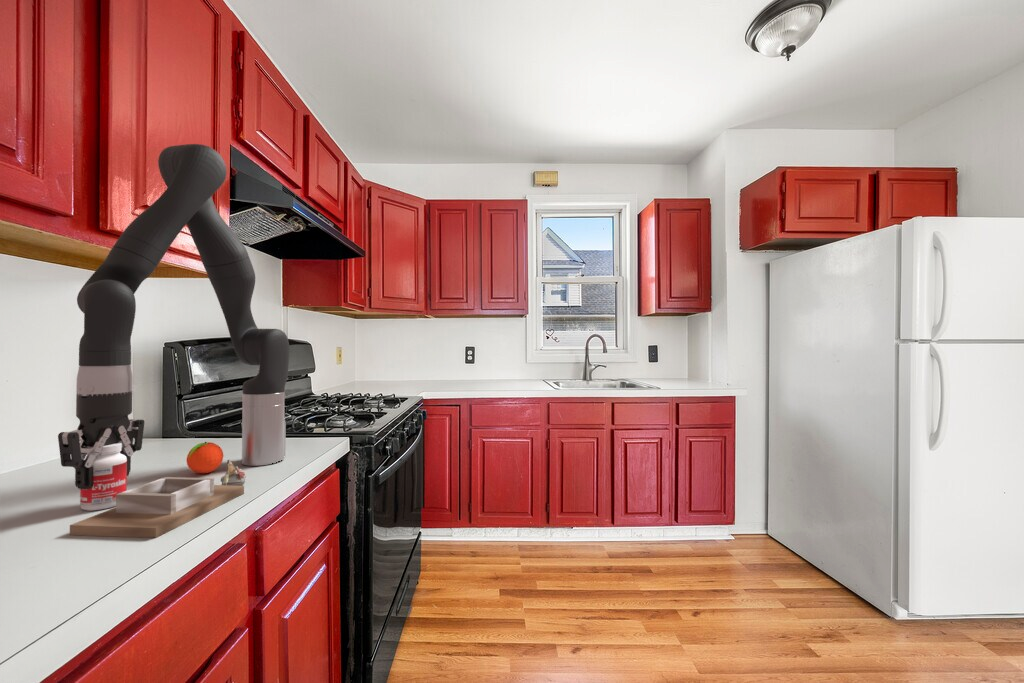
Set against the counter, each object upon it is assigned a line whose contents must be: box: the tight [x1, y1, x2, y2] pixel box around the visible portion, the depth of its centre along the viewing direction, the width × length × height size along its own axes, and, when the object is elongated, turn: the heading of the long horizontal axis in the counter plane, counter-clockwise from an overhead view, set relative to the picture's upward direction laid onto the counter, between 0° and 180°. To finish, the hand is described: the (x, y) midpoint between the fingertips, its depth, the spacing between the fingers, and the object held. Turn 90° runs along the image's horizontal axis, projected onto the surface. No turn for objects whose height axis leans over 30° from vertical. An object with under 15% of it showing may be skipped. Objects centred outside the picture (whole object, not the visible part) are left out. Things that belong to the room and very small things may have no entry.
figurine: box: [220, 459, 247, 486], centre depth 91 cm, size 5×4×6 cm
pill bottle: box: [79, 442, 128, 512], centre depth 80 cm, size 6×6×11 cm
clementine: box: [186, 441, 224, 475], centre depth 100 cm, size 8×7×7 cm
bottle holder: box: [69, 476, 245, 539], centre depth 77 cm, size 20×14×4 cm
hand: (104, 482), depth 80 cm, fingers closed on pill bottle, 6 cm apart
